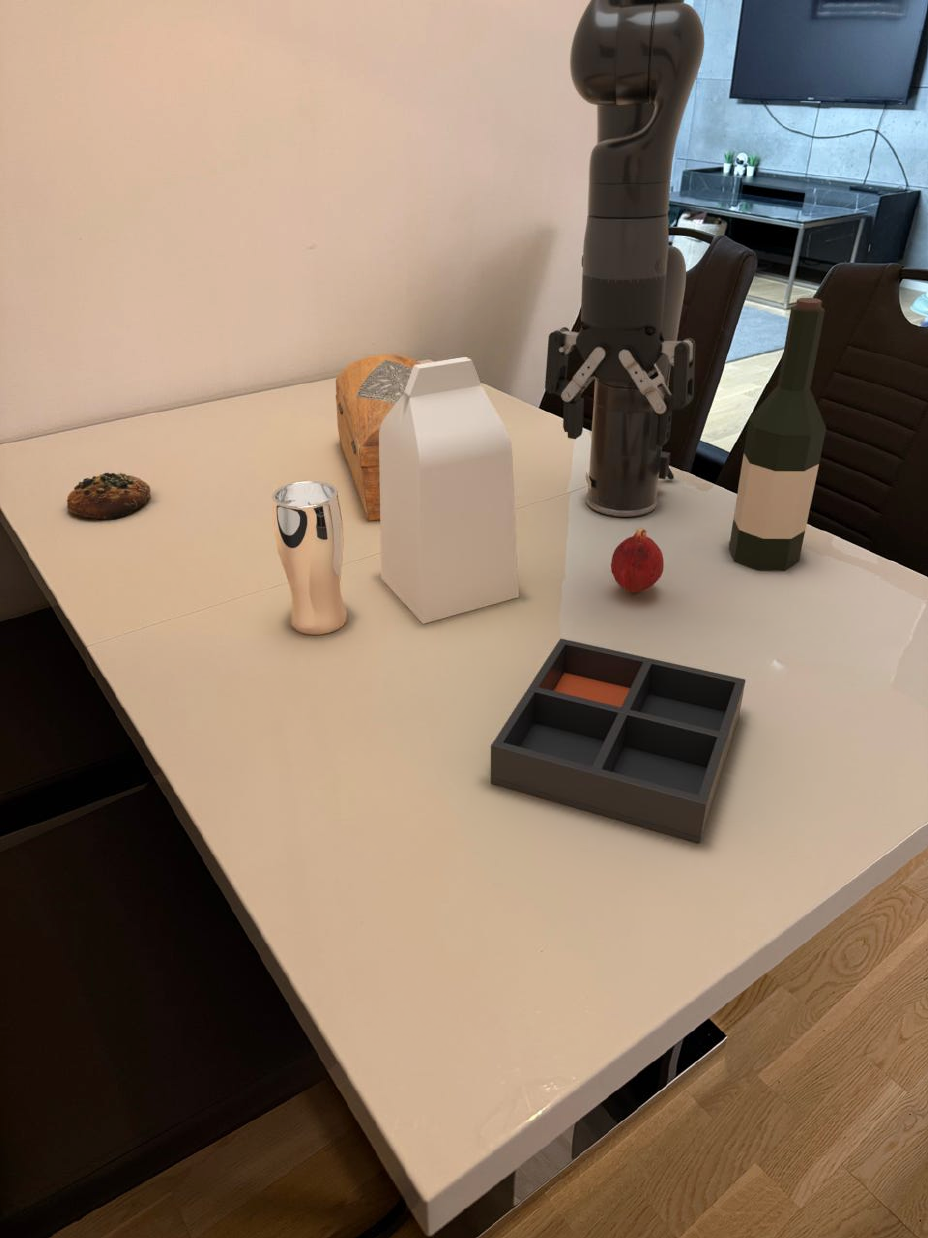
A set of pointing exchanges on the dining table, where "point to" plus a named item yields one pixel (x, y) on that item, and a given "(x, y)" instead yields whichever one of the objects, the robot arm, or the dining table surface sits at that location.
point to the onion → (637, 562)
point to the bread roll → (108, 496)
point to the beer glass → (311, 553)
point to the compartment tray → (621, 737)
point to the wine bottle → (781, 454)
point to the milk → (447, 495)
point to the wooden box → (368, 418)
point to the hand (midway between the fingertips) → (614, 442)
